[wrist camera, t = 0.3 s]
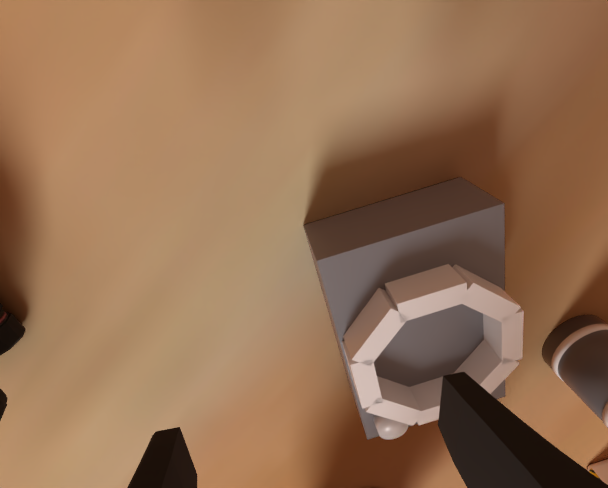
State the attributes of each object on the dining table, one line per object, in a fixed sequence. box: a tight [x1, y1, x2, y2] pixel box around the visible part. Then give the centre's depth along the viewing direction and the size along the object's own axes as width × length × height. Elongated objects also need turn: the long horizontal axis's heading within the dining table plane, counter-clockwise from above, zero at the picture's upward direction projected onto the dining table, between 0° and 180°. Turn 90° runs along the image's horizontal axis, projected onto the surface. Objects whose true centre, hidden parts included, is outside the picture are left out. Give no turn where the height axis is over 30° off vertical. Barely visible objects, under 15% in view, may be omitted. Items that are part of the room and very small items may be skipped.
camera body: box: [303, 177, 524, 440], centre depth 20 cm, size 12×8×5 cm, turn 15°
